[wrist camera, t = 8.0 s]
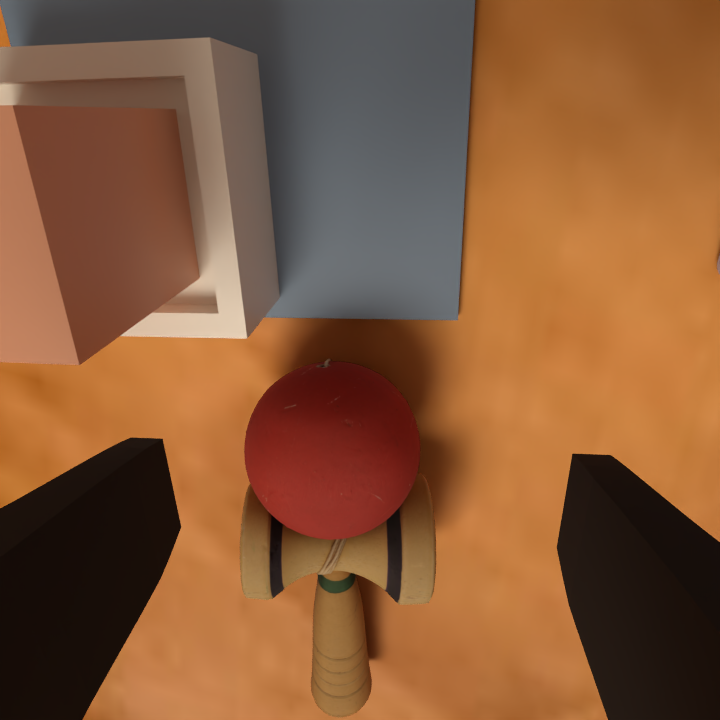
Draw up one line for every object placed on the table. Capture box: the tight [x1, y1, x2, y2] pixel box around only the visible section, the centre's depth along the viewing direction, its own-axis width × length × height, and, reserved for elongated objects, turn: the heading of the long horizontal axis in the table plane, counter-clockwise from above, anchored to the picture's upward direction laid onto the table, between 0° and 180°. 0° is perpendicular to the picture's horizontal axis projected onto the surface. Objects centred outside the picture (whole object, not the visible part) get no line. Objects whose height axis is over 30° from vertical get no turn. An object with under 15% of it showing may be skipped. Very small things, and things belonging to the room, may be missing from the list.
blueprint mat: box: [0, 0, 475, 320], centre depth 16 cm, size 14×17×1 cm
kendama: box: [240, 359, 436, 717], centre depth 21 cm, size 8×6×18 cm
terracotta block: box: [0, 105, 200, 365], centre depth 12 cm, size 4×4×6 cm
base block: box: [0, 37, 280, 338], centre depth 16 cm, size 8×8×4 cm
